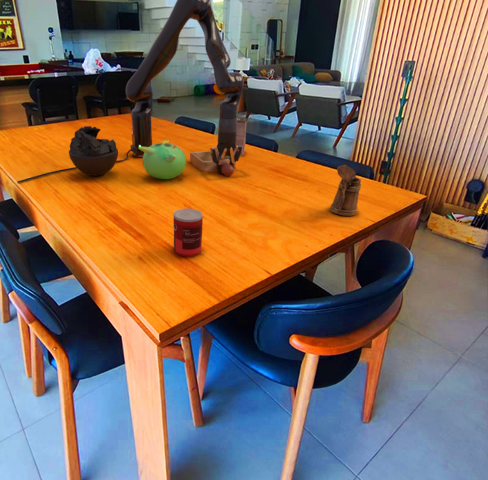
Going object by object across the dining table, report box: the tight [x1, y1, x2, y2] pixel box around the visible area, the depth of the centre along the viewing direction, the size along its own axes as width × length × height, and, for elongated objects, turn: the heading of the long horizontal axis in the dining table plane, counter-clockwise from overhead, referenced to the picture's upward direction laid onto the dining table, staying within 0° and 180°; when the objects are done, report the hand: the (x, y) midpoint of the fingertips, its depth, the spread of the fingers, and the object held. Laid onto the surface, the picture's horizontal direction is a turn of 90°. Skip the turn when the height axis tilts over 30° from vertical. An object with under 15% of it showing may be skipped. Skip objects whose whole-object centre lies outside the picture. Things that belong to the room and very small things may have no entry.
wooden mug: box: [329, 163, 362, 217], centre depth 126 cm, size 9×14×18 cm, turn 139°
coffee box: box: [233, 117, 248, 157], centre depth 189 cm, size 9×6×16 cm
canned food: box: [173, 208, 204, 258], centre depth 105 cm, size 8×8×11 cm
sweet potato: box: [220, 161, 235, 177], centre depth 163 cm, size 11×5×5 cm, turn 20°
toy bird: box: [138, 139, 187, 180], centre depth 156 cm, size 18×17×15 cm
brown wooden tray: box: [189, 150, 237, 173], centre depth 174 cm, size 16×17×5 cm
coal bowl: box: [68, 125, 119, 177], centre depth 158 cm, size 20×20×19 cm
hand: (224, 172), depth 164 cm, fingers closed on sweet potato, 4 cm apart
